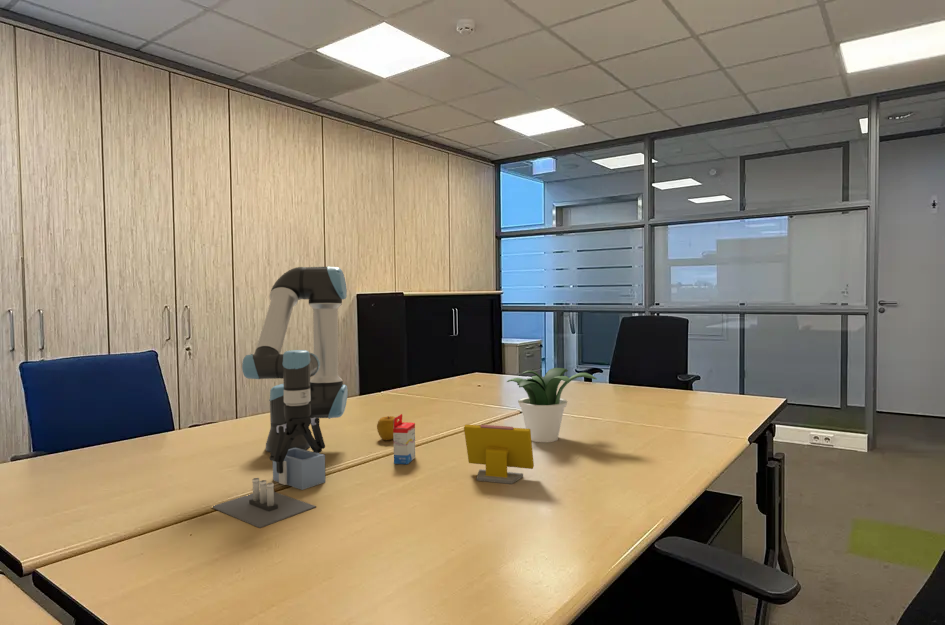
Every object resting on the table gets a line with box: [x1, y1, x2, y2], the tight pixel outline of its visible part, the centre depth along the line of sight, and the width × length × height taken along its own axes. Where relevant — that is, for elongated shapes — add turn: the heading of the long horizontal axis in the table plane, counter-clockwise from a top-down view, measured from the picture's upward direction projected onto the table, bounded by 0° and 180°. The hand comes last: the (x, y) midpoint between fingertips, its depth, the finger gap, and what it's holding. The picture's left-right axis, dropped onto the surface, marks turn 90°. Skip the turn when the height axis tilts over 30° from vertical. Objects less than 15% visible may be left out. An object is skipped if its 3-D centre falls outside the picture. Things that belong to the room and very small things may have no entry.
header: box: [212, 477, 317, 529], centre depth 146 cm, size 22×16×7 cm
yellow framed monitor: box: [463, 424, 535, 485], centre depth 167 cm, size 20×8×16 cm, turn 71°
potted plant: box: [506, 367, 597, 443], centre depth 212 cm, size 32×35×26 cm
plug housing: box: [272, 447, 326, 491], centre depth 166 cm, size 14×8×8 cm, turn 53°
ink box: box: [392, 413, 416, 465], centre depth 186 cm, size 8×5×15 cm, turn 168°
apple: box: [376, 415, 399, 441], centre depth 213 cm, size 8×8×9 cm
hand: (298, 478), depth 166 cm, fingers open, 10 cm apart
